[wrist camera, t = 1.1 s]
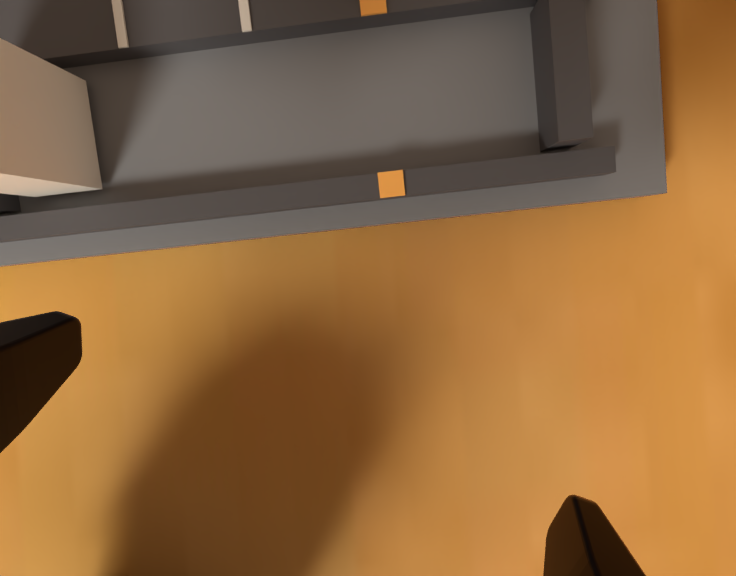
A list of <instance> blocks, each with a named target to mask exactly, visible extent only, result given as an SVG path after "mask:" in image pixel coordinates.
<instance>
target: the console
mask: <svg viewBox="0 0 736 576" xmlns="http://www.w3.org/2000/svg"><path fill="white" fill-rule="evenodd" d="M0 38H1V39H3V40H5V41H7V42H9V43H11V44H13V45H15V46H17V47H19V48H21V49H23V50H25V51H27V52H29V53H31V54H33V55H35V56H37V57H39V58H41V59H43V60H45V61H47V62H49V63H51V64H53V65H55V66H57V67H59V68H61V69H63V70H65V71H67V72H69V73H71V74H73V75H75V76H77V77H79V78H81V79H83V80H85V81H86V85H87V91H88V98H89V104H90V111H91V117H92V124H93V130H94V137H95V143H96V150H97V156H98V163H99V169H100V176H101V182H102V189H100V190H91V191H82V192H74V193H65V194H57V195H48V196H40V197H31V196H21V195H11V194H2V193H0V267H2V266H11V265H20V264H29V263H38V262H47V261H57V260H66V259H75V258H84V257H93V256H103V255H112V254H121V253H130V252H139V251H148V250H158V249H167V248H176V247H185V246H194V245H203V244H213V243H222V242H231V241H240V240H249V239H259V238H268V237H277V236H286V235H295V234H304V233H314V232H323V231H332V230H341V229H350V228H359V227H369V226H378V225H387V224H396V223H405V222H414V221H424V220H433V219H442V218H451V217H460V216H470V215H479V214H488V213H497V212H506V211H515V210H525V209H534V208H543V207H552V206H561V205H570V204H580V203H589V202H598V201H607V200H616V199H625V198H635V197H644V196H651V195H657V194H664V193H667V183H666V164H665V145H664V126H663V107H662V88H661V68H660V49H659V30H658V11H657V0H0Z"/></svg>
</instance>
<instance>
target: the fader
mask: <svg viewBox="0 0 736 576" xmlns="http://www.w3.org/2000/svg"><path fill="white" fill-rule="evenodd" d="M100 189H102V182H101V176H100V169H99V163H98V156H97V150H96V143H95V137H94V130H93V124H92V117H91V111H90V104H89V98H88V91H87V85H86V81H85V80H83V79H81V78H79V77H77V76H75V75H73V74H71V73H69V72H67V71H65V70H63V69H61V68H59V67H57V66H55V65H53V64H51V63H49V62H47V61H45V60H43V59H41V58H39V57H37V56H35V55H33V54H31V53H29V52H27V51H25V50H23V49H21V48H19V47H17V46H15V45H13V44H11V43H9V42H7V41H5V40H3V39H1V38H0V193H2V194H11V195H21V196H31V197H40V196H48V195H57V194H65V193H74V192H82V191H91V190H100Z"/></svg>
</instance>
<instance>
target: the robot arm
mask: <svg viewBox="0 0 736 576" xmlns="http://www.w3.org/2000/svg"><path fill="white" fill-rule="evenodd" d="M81 357H82V336H81V323H80V321H79V319H77V318H76V317H73V316H71V315H68V314H65V313H62V312H57V311H55V312H49V313H44V314H40V315H35V316H30V317H25V318H20V319H15V320H10V321H5V322H1V323H0V453H1V452H2V451H3V450H4V449H5V448H6V447H7V446H8V445H9V444H10V443H11V442H12V441H13V440H14V439H15V438H16V437H17V436H18V435H19V434H20V433H21V432H22V431H23V430H24V429H25V427H26V426H27V425H28V424H29V423H30V422H31V421H32V420H33V418H34V417H35V416H36V415H37V414H38V413H39V411H40V410H41V409H42V408H43V407H44V405H45V404H46V403H47V402H48V401H49V400H50V398H51V397H52V396H53V395H54V394H55V392H56V391H57V390H58V389H59V388H60V387H61V385H62V384H63V383H64V382H65V381H66V380H67V378H68V377H69V376H70V375H71V374H72V372H73V371H74V370H75V369H76V368H77V366H78V365H79V363H80V360H81ZM543 576H646V575H645V574H644V572H643V571H642V569H641V568H640V566H639V565H638V563H637V562H636V560H635V559H634V557H633V556H632V554H631V553H630V551H629V550H628V548H627V547H626V546H625V544H624V543H623V541H622V540H621V538H620V537H619V535H618V534H617V532H616V531H615V529H614V528H613V526H612V525H611V523H610V522H609V520H608V519H607V517H606V516H605V514H604V513H603V511H602V510H601V509H600V507H599V506H598V505H597V504H596V503H595V502H593V501H591V500H588V499H585V498H583V497H580V496H577V495H569V496H568V497H567V498H566V500H565V501H564V503H563V504H562V506H561V508H560V509H559V511H558V513H557V514H556V516H555V518H554V519H553V521H552V523H551V525H550V527H549V529H548V532H547V537H546V547H545V561H544V574H543Z"/></svg>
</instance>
